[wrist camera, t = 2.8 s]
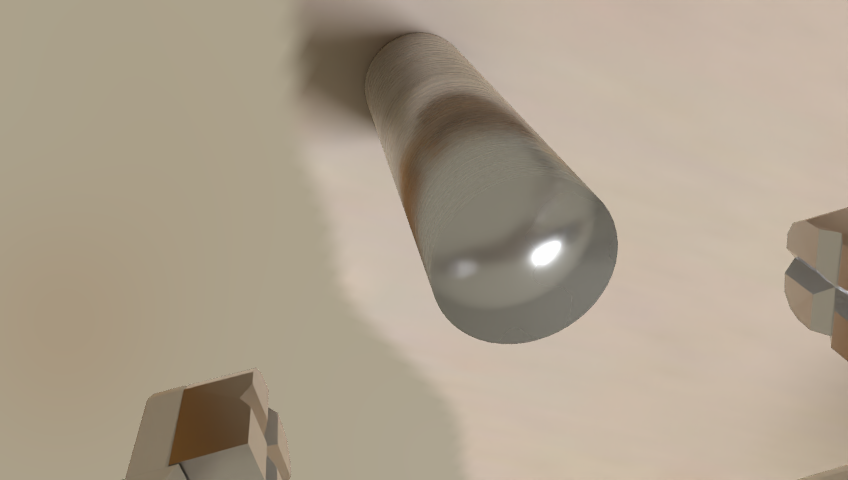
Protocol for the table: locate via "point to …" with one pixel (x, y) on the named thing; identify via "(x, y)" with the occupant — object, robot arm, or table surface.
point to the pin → (486, 197)
